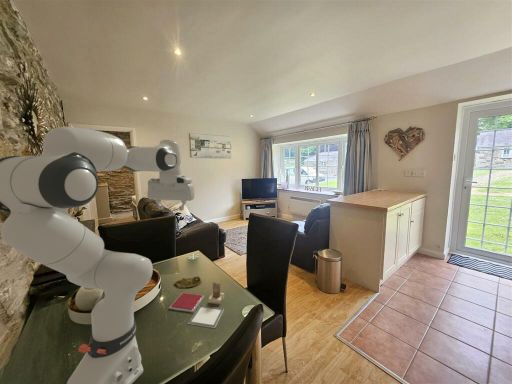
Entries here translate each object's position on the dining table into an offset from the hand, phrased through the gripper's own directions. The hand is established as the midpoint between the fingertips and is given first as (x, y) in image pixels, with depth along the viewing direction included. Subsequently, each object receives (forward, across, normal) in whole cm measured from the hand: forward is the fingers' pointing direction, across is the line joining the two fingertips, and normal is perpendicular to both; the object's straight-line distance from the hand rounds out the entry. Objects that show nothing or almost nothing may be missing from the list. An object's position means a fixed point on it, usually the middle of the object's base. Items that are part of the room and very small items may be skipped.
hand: (171, 209), depth 95 cm
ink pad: (+47, +5, +4) cm, 47 cm away
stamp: (+47, +18, +8) cm, 51 cm away
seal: (+47, -2, +20) cm, 52 cm away
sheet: (+47, +17, -4) cm, 50 cm away
